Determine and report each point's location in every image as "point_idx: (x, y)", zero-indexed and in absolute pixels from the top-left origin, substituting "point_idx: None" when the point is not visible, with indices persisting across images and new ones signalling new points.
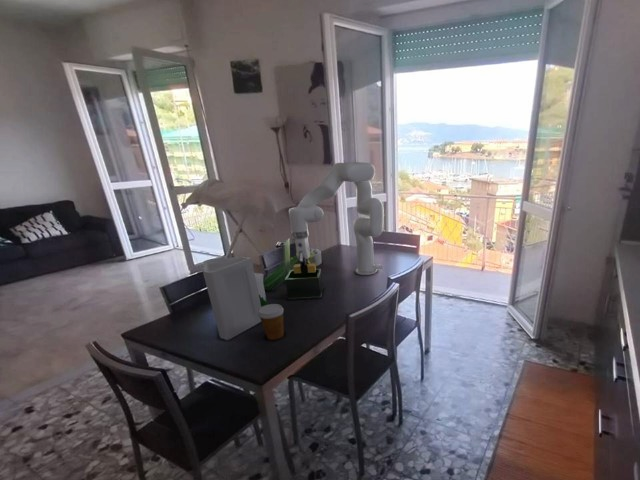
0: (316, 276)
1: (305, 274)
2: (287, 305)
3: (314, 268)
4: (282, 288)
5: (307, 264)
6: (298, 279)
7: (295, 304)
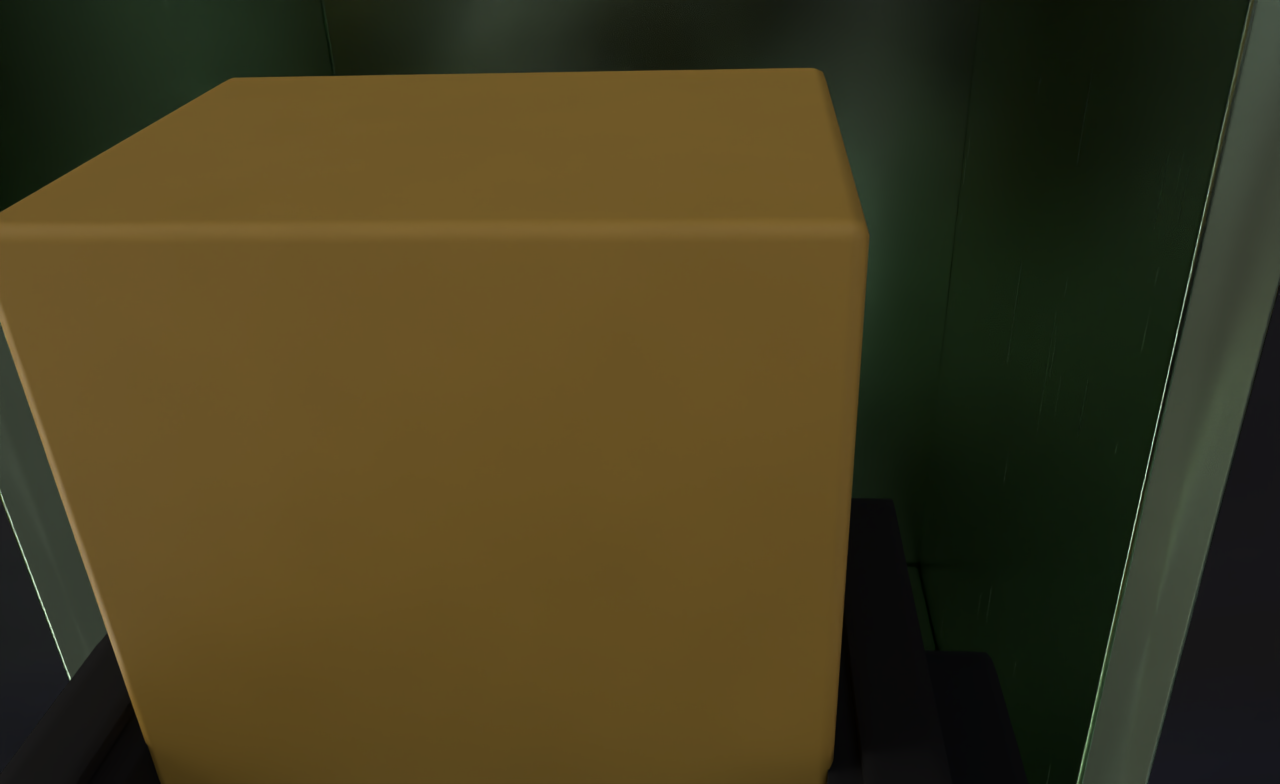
0: (139, 45)
1: None
2: (1243, 555)
3: (842, 169)
4: None
5: (331, 775)
6: (1147, 709)
7: (1255, 409)
